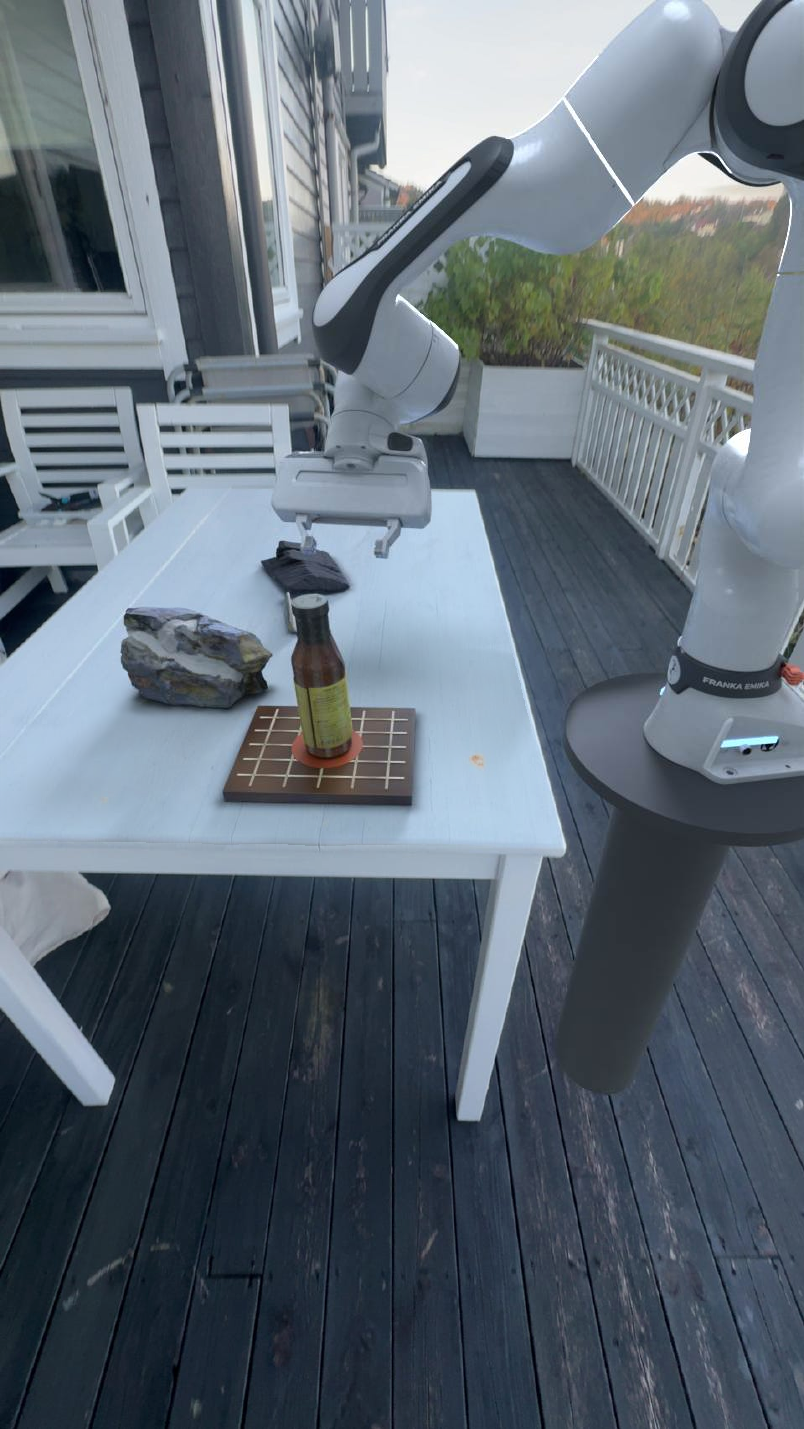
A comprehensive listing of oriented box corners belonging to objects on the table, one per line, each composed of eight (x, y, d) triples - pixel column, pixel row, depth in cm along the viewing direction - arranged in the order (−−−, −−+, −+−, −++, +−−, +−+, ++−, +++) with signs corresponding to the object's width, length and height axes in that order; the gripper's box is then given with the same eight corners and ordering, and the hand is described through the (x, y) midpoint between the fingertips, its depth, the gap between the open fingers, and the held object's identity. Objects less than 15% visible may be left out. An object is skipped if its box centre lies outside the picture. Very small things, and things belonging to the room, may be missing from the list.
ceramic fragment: (283, 601, 119) (281, 582, 117) (310, 599, 120) (309, 580, 117) (286, 636, 108) (283, 616, 106) (316, 633, 109) (314, 613, 106)
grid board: (415, 716, 87) (415, 707, 86) (411, 805, 72) (411, 795, 71) (259, 714, 88) (257, 704, 87) (224, 801, 73) (221, 790, 72)
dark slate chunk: (277, 602, 118) (274, 579, 116) (259, 563, 136) (256, 541, 133) (355, 591, 123) (354, 568, 120) (328, 554, 140) (326, 533, 137)
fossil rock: (274, 705, 96) (278, 624, 87) (247, 744, 89) (249, 661, 79) (152, 667, 98) (144, 583, 88) (117, 703, 91) (103, 616, 81)
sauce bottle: (361, 737, 80) (353, 594, 69) (338, 766, 76) (325, 617, 64) (317, 726, 83) (303, 585, 71) (292, 752, 78) (272, 606, 67)
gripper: (273, 436, 78) (255, 538, 76) (434, 440, 75) (420, 547, 73) (290, 465, 85) (273, 560, 82) (439, 470, 81) (426, 569, 79)
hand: (343, 554), depth 77 cm, fingers open, 8 cm apart
